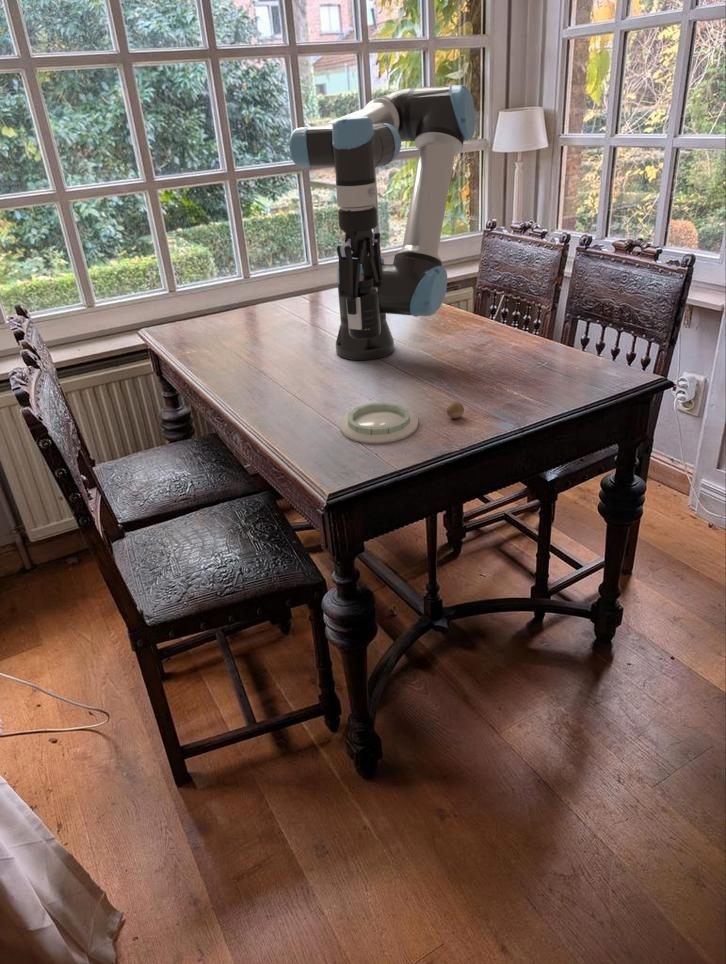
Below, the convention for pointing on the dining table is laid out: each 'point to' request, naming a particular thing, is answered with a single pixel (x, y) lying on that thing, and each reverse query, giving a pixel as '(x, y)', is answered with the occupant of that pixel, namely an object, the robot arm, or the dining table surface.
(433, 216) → the robot arm
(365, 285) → the supplement bottle
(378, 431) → the plate
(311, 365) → the dining table surface
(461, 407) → the wooden bead
